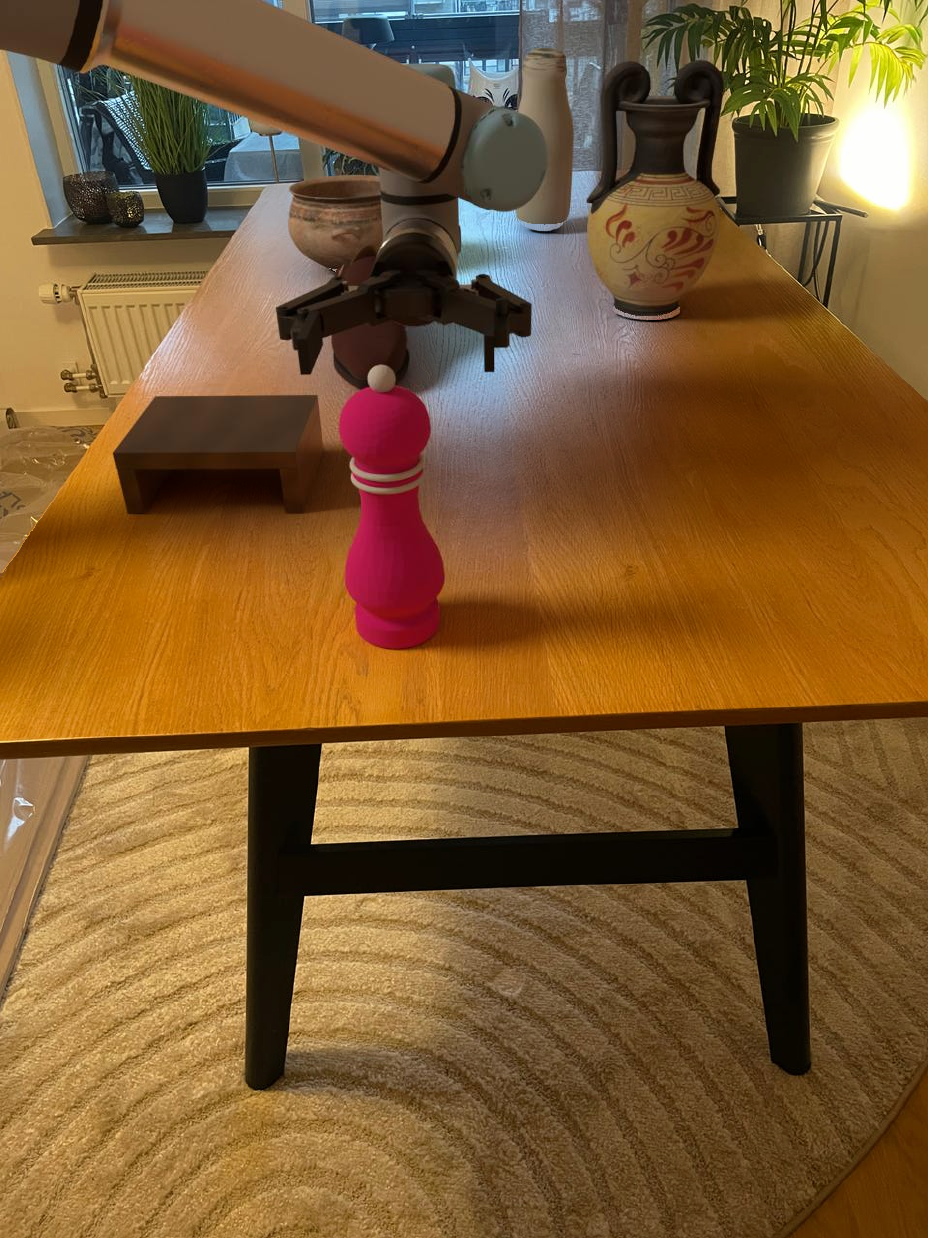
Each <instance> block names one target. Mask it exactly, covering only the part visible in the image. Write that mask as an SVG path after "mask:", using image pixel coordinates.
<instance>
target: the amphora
mask: <svg viewBox="0 0 928 1238" xmlns="http://www.w3.org/2000/svg"><path fill="white" fill-rule="evenodd" d="M724 86H725V85H724V78H723V74H722V73H721V71H720V69H719V68H718V67H717V66H716V65H715V64H714V63H712V62H711V61H708V60H705V59H696V60H692V61H689V62H688V63H686V64H684V65H683V66H682V67H681V68H680V69H679V70H678V73H677V74H676V76H675V78H674V85H673V91H674V95H669V94H668V95H650V93H651V90H652V80H651V74H650V72H649V70H648V69H647V68H646V67H645V66H644V65H643V64H642V63H639V62H638V61H632V60H627V61H623V62H620V63H618V64H615V65H614V66H613V67H612V68H611V69H610V70H609V71H608V73H607V74H606V76H605V78H604V79H603V82H602V85H601V93H600V117H601V118H600V119H601V140H602V141H601V142H602V146H601V147H602V156H601V157H602V158H601V159H602V160H601V164H602V165H601V173H600V179H599V181H598V184H597V185H596V186H595V187H594V189H593V190H592V191H591V192H590V194H589V195H588V197H587V198H586V204H591V206H590V209H589V211H588V216H587V224H586V225H587V227H586V231H587V233H586V234H587V235H586V236H587V245H588V246H587V247H588V252H589V255H590V258H591V261H592V264H593V268H594V269H595V272H596V274H597V276H598V278H599V280H600V281H601V282H602V284H603V285H604V286H605V287H606V289H607V290H608V291H609V292H610V293H611V295H612V297H613V300H614V301H613V304H614V306H615V308H616V309H618V310H620V311H622V312H624V313H628V314H631V315H635V316H658V315H659V316H660V315H663V314H667V313H670V312H672V311H674V310H676V309H677V308H678V307H679V306H680V305H679V302H680V301H679V300H680V299H681V297H682V296H683V295H684V294H685V293H687V291H689V290H690V289H691V288H693V287H694V285H695V284H696V283H697V282H698V281H699V280H700V278H701V277H702V275H703V274H704V273H705V271H706V270H707V267H708V265H709V264H710V262H711V259H712V257H713V255H714V252H715V250H716V247H717V242H718V239H719V234H720V221H721V220H720V219H721V218H720V216H721V214H720V213H721V212H720V207H719V203H718V200H717V198H716V197H717V196H718V195H720V194H721V189H720V187H718V185H717V184H716V182H715V181H714V180H713V162H714V161H713V160H714V155H715V150H716V143H717V137H718V132H719V126H720V125H719V124H720V119H721V112H722V106H723V99H724V90H725V87H724ZM703 109H704V113H703V114H704V115H703V121H702V126H701V131H700V132H701V133H700V139H699V144H698V145H699V146H698V151H697V160H696V171H695V178H694V177H692V176H691V175H690V174H689V173H688V172H687V171H686V167H685V161H684V160H685V159H684V157H685V156H684V154H685V153H684V146H685V141H686V137H687V135H689V133H690V132H691V130H692V129H693V128H694V126H695V124H696V122H697V119H698V115H699V113H700V111H701V110H703ZM617 112H624V113H625V121H626V124H627V127H628V128H629V129H630V130H631V131H632V132H633V135H634V141H635V143H634V144H635V146H634V152H633V153H634V154H633V159H632V163H631V166H630V168H629V170H628V171H627V172H626V173H625V174H623V175H621V176H620V177H618V178H617V174H618V173H617V171H618V154H619V153H618V151H619V150H618V123H617V120H618V119H617Z"/></svg>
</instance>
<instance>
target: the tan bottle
mask: <svg viewBox="0 0 928 1238" xmlns="http://www.w3.org/2000/svg"><path fill="white" fill-rule="evenodd" d="M567 75H568V66H567V56H566V55H565V54H564V52H562V51H561V50H558V49H556V48H552V47H537V48H533V49H531V50H530V51H529V52H527V54H526V55H525V56H524V59H523V63H522V67H521V79H522V89H521V90H522V91H521V97H520V98H521V99H520V103H519V106H518V110H517V112H519V113H521V114H524V115H526V116H528V117H529V118H531V119H532V120H533V121H534V122H535V123H536V124H537V125H538V126H539V128H540V129H541V131H542V133H543V135H544V138H545V140H546V144H547V151H548V163H547V169H546V173H545V177H544V179H543V182H542V185H541V186H540V188H539V190H538V192H537V193H536V194H535V196H534V197H533V198H532V199H531V200H530V201H529V202H528V203H527V204H525V205H524V206H522V207H520V208H518V209H516V210H515V216H516V218H517V220H518V219H519V220H521V221H524V222H527V223H531V224H544V225H545V224H557V223H562V222H564V221H565V220H566V221H567V220H568V217H569V216H570V211H571V203H572V187H573V169H574V168H573V166H574V147H575V146H574V145H575V129H574V120H573V115H572V110H571V107H570V102H569V97H568V89H567V82H566V78H567ZM519 220H518V221H519ZM566 221H565V222H566ZM565 222H564V223H565Z"/></svg>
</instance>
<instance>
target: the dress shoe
mask: <svg viewBox="0 0 928 1238" xmlns="http://www.w3.org/2000/svg"><path fill="white" fill-rule="evenodd" d="M380 247H381V246H379V245H375V244H372V245H367V246H365V247H363V248H362V249H361V250H360V251H359V252H358V253H357V254H356V256H355V257H354V258H353V260H352V262H351V263H350V265H349V267H346V266H345V265H343V266H342V268H338V269H337V270H336V272H334V275H333V277H335V276H343V277H345V281H347V282H348V286H358V285H359V284H360V283H361V282H364V281H366V280H368V279H370V275H371V271H372V268H373V265H374V263H375V260H376V257H377V254H378V251H379V249H380ZM376 313H379V312H376ZM406 330H407V329H406V326H404V325H400V324H398V323H395V322H394V321H391V320H390V321H387V322H385V323H382V324H379V325H376V326H370V325H366V324H362V325H359V326H356V327H353V328H351V329H348V330H345V331H342V332H339V333H336V334H334V335H331V339H330V341H331V342H330V343H331V347H332V351H333V354H332V356H333V361H332V362H333V367H334V369H335V371H336V373H337V374H338V375H339V376H340V377H341V378H342V380H344V381H345V382H346V383H348V384H349V385H351V386H354V387H356V388H367V387H370V386H369V384H368V374H369V372H370V370H371V369H372V368H373V367H375V366H377V365H386V366H388V367H389V368H391V369H392V370H393V372H394V374H395V379H396V381H395V382H397V381H399V380H400V379H401V378H403V376H405V375H406V373H407V372H408V370H409V368H410V352H409V349H408V335H407V331H406Z"/></svg>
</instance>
